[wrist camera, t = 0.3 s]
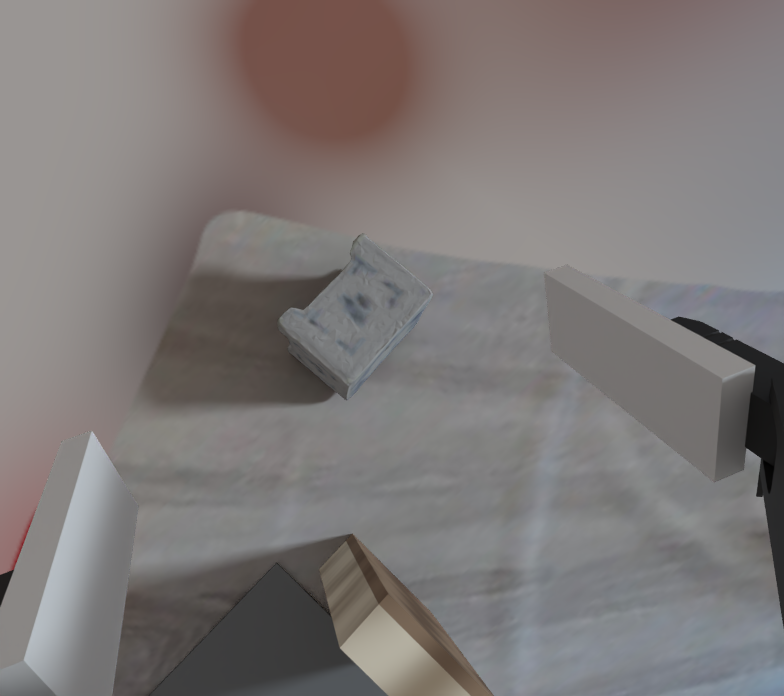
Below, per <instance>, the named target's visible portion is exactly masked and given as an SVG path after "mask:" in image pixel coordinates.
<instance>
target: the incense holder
mask: <svg viewBox="0 0 784 696" xmlns="http://www.w3.org/2000/svg"><path fill="white" fill-rule="evenodd" d="M350 255H351V261H350V262H349V263H348V264H347V265H346V267H345V268H344V269H343V270H342V272H341V273H340V274H339V275H338V276H337V277H336V278H335V279H334V280H333V281H331V282H330V283H329V285H328V286H327V287H326V288H324V289H323V290H322V291H321V292H320V293H319V294H318V296H317V297H315V299H314V300H313V301H312V302H311V303H310V305H308V306H307V307H306V308H305V309H304V310H301V309H297V308H289V309H288V310H287V311H286V312H285V313H283V315H282V316H281V317H280V318H279V319H278V330H279V331H280V332H281V333H282V334H284V335H285V336H286V337H287V338H288V339H289V343H290V345H289V346H288V351H289V353H291V354H292V355H293V356H294V357H296V358H297V359H298V360H299V361H300V362H301V363H303V364H304V365H305V366H306V367H307V368H309V369H310V370H311V371H312V372H313V373H314V374H315V375H317V376H318V377H319V378H320V379H321V380H322V381H324V382H325V383H326V384H327V385H328V386H330V387H331V388H332V389H333V390H334V391H335V392H336V393H338V394H339V395H340V396H342V397H343V398H344V399H345V400H348V399H349V398H351V397H352V396H353V394H354V393H355V392H356V391H357V390H358V389H359V388H360V386H361V385H362V384H363V383H364V382H365V381H366V379H367V378H368V377H369V376H370V375H371V374H372V372H373V371H374V370H375V369H376V368H377V367H378V366H379V364H380V363H381V362H382V361H383V360H384V359H385V358H386V357H387V356H388V355H389V354H390V352H391V351H392V350H393V349H394V348H395V347H396V346H397V345H398V344H399V343H400V341H401V340H402V339H403V338H404V337H405V336H406V335H407V334H408V333H409V332H410V331H411V330H412V329H413V328H414V326H415V325H416V324H417V322H418V320H419V319H420V317H421V315H422V312H423V311H424V309H425V308H426V306H427V305H428V303H429V301H430V299H431V298H432V296H433V293H432V292H431V290H430V289H429V288H428V287H427V286H426V285H424V284H423V283H422V282H421V281H420V280H419V279H418V278H416V277H415V276H414V275H413V274H412V273H410V272H409V271H408V270H407V269H406V268H405V267H403V266H402V265H401V264H400V263H399V262H397V261H396V260H395V259H393V258H392V257H391V256H390V255H389V254H387V253H386V252H385V251H384V250H382V249H381V248H380V247H378V246H377V245H376V244H375V243H374V242H373V241H371V240H370V239H369V238H368V237H367V236H366V235H365V234H361V235H359V236H358V237H357V238H356V239H355V240H354V241H353V245H352V248H351V251H350Z"/></svg>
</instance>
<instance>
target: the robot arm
mask: <svg viewBox="0 0 784 696" xmlns="http://www.w3.org/2000/svg"><path fill="white" fill-rule="evenodd" d="M544 278H545V288H546V299H547V309H548V319H549V329H550V339H551V350H552V352H553V353H554V354H555V355H557V356H558V357H559V358H560V359H562V360H563V361H564V362H565V363H567V364H568V365H569V366H570V367H571V368H573V369H574V370H575V371H576V372H578V373H579V374H580V375H581V376H583V377H584V378H585V379H586V380H588V381H589V382H590V383H591V384H593V385H594V386H595V387H596V388H598V389H599V390H600V391H601V392H603V393H604V394H605V395H606V396H607V397H609V398H610V399H611V400H612V401H614V402H615V403H616V404H617V405H619V406H620V407H621V408H622V409H624V410H625V411H626V412H627V413H629V414H630V415H631V416H632V417H634V418H635V419H636V420H637V421H639V422H640V423H641V424H642V425H644V426H645V427H646V428H647V429H648V430H650V431H651V432H652V433H653V434H655V435H656V436H657V437H658V438H660V439H661V440H662V441H663V442H665V443H666V444H667V445H668V446H670V447H671V448H672V449H673V450H675V451H676V452H677V453H678V454H680V455H681V456H682V457H683V458H684V459H686V460H687V461H688V462H689V463H691V464H692V465H693V466H694V467H696V468H697V469H698V470H699V471H701V472H702V473H703V474H704V475H706V476H707V477H708V478H709V479H711V480H712V481H713V482H716V481H719V480H721V479H723V478H726V477H728V476H730V475H733V474H735V473H737V472H739V471H742V470H744V463H745V454H746V448H747V449H749V450H750V451H752V452H753V453H755V454H756V455H757V456H759V457H760V458H761V464H760V472H759V479H758V487H757V494H756V496H757V497H762V496H764V503H765V509H766V516H767V522H768V529H769V535H770V542H771V548H772V555H773V561H774V568H775V574H776V581H777V587H778V594H779V601H780V607H781V614H782V620H783V627H784V363H782V362H780V361H778V360H776V359H774V358H772V357H770V356H768V355H766V354H764V353H762V352H760V351H758V350H756V349H754V348H752V347H750V346H748V345H746V344H744V343H742V342H740V341H738V340H733V338H732V337H730V336H728V335H726V334H725V333H723V332H722V333H719V330H717V329H715V328H713V327H711V326H709V325H707V324H705V323H703V322H700V321H696V320H692V319H687V318H683V317H677V318H674V319H671V320H670V319H668V318H666V317H664V316H662V315H660V314H658V313H657V312H655V311H653V310H651V309H649V308H647V307H645V306H643V305H642V304H640V303H638V302H636V301H634V300H632V299H630V298H629V297H627V296H625V295H623V294H621V293H619V292H617V291H615V290H614V289H612V288H610V287H608V286H606V285H604V284H602V283H600V282H599V281H597V280H595V279H593V278H591V277H589V276H587V275H586V274H584V273H582V272H580V271H578V270H576V269H574V268H572V267H570V266H569V265H564V266H562V267H559V268H556V269H553V270H550V271H547V272H544ZM138 508H139V506H138V504H137V503H136V501H135V499H134V498H133V496H132V494H131V493H130V491H129V490H128V488H127V486H126V485H125V483H124V482H123V480H122V478H121V477H120V475H119V474H118V472H117V470H116V469H115V467H114V465H113V464H112V462H111V461H110V459H109V457H108V456H107V454H106V453H105V451H104V449H103V448H102V446H101V445H100V443H99V441H98V440H97V438H96V436H95V435H94V433H93V432H92V431H90V432H87V433H84V434H81V435H78V436H75V437H72V438H70V439H67V440H64V441H62V442H61V445H60V447H59V450H58V453H57V455H56V458H55V461H54V463H53V466H52V469H51V472H50V474H49V477H48V480H47V482H46V485H45V488H44V490H43V493H42V496H41V499H40V501H39V504H38V507H37V509H36V512H35V515H34V518H33V520H32V523H31V526H30V528H29V531H28V534H27V536H26V539H25V542H24V545H23V547H22V550H21V553H20V555H19V558H18V561H17V563H16V566H15V569H14V570H12V571H9V572H7V573H4V574H2V575H0V696H112V694H113V687H114V680H115V672H116V665H117V658H118V651H119V644H120V637H121V629H122V622H123V615H124V608H125V601H126V594H127V586H128V579H129V572H130V565H131V558H132V551H133V543H134V536H135V529H136V522H137V515H138Z"/></svg>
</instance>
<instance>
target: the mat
mask: <svg viewBox="0 0 784 696" xmlns="http://www.w3.org/2000/svg"><path fill="white" fill-rule="evenodd" d="M149 696H388V695H387V694H386V693H385V692H384V691H383V690H382V689H381V688H380V687H379V686H378V685H377V684H376V683H375V682H374V681H373V680H372V679H371V678H370V677H369V676H368V675H367V674H366V673H365V672H364V671H363V670H362V669H361V668H360V667H359V666H358V665H357V664H356V663H355V662H354V661H353V660H351V659H350V658H349V657H348V656H347V655H346V654H345V653H344V652H343V651H342V650H341V649H340V647H339V643H338V640H337V636H336V632H335V628H334V624H333V621H332V617H331V616H330V615H329V614H328V613H327V612H326V611H325V610H324V609H323V608H322V607H321V606H320V605H319V604H318V603H317V602H316V601H315V600H314V599H313V598H312V597H311V596H310V595H309V594H308V593H307V592H306V591H305V590H304V589H303V588H302V587H301V586H300V585H299V584H298V583H297V582H296V581H295V580H293V579H292V578H291V577H290V576H289V575H288V574H287V573H286V572H285V571H284V570H283V569H282V568H281V567H280V566H279V565H278V564H277V563H276V564H275V565H274V566H273V567H272V568H271V569H270V570H269V571H268V572H267V573H266V575H265V576H264V577H263V578H262V579H261V580H260V581H259V582H258V583H257V584H256V585H255V586H254V587H253V588H252V589H251V590H250V591H249V592H248V593H247V594H246V595H245V596H244V597H243V598H242V599H241V601H240V602H239V603H238V604H237V605H236V606H235V607H234V608H233V609H232V610H231V611H230V612H229V613H228V614H227V615H226V616H225V617H224V618H223V619H222V620H221V621H220V622H219V623H218V624H217V625H216V627H215V628H214V629H213V630H212V631H211V632H210V633H209V634H208V635H207V636H206V637H205V638H204V639H203V640H202V641H201V642H200V643H199V644H198V645H197V646H196V647H195V648H194V649H193V650H192V651H191V653H190V654H189V655H188V656H187V657H186V658H185V659H184V660H183V661H182V662H181V663H180V664H179V665H178V666H177V667H176V668H175V669H174V670H173V671H172V672H171V673H170V674H169V675H168V676H167V677H166V679H165V680H164V681H163V682H162V683H161V684H160V685H159V686H158V687H157V688H156V689H155V690H154V691H153V692H152V693H151V694H150V695H149Z"/></svg>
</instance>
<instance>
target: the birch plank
mask: <svg viewBox="0 0 784 696" xmlns="http://www.w3.org/2000/svg"><path fill="white" fill-rule="evenodd" d="M319 571H320V575H321V579H322V583H323V586H324V590H325V594H326V598H327V602H328V605H329V609H330V613H331V617H332V621H333V624H334V628H335V632H336V636H337V640H338V643H339V647H340V649H341V650H342V651H343V652H344V653H345V654H346V655H347V656H348V657H349V658H350V659H351V660H353V661H354V662H355V663H356V664H357V665H358V666H359V667H360V668H361V669H362V670H363V671H364V672H365V673H366V674H367V675H368V676H369V677H370V678H371V679H372V680H373V681H374V682H375V683H376V684H377V685H378V686H379V687H380V688H381V689H382V690H383V691H384V692H385V693H386V694H387V695H388V696H494V695H493V694H492V693H491V691H490V690H489V689H488V687H487V686H486V685H485V683H484V682H483V681H482V679H481V678H480V677H479V675H478V674H477V673H476V671H475V670H474V669H473V667H472V666H471V665H470V663H469V662H468V661H467V659H466V658H465V657H464V655H463V654H462V653H461V651H460V650H459V649H458V647H457V646H456V645H455V643H454V642H453V641H452V639H451V638H450V637H449V635H448V634H447V633H446V631H445V630H444V629H443V627H442V626H441V625H440V623H439V622H438V621H437V619H436V618H435V617H434V615H433V614H432V613H431V612H430V611H429V610H428V609H427V608H426V607H425V606H424V605H423V604H422V603H421V602H420V601H419V600H418V599H417V598H416V597H415V596H414V595H413V594H412V593H411V592H410V591H409V590H408V589H407V588H406V587H405V586H404V585H403V584H402V583H401V582H400V581H399V580H398V579H397V578H396V577H395V576H394V575H393V574H392V573H391V572H390V571H389V570H388V569H387V568H386V567H385V566H384V565H383V564H382V563H381V562H380V561H379V560H378V559H377V558H376V557H375V556H374V555H373V554H372V553H371V552H370V551H369V550H368V549H367V548H366V547H365V546H364V545H363V544H362V543H361V542H360V541H359V540H358V539H357V538H356V537H355V536H354V535H353V534H352V535H351V536H350V537H349V538H348V539H347V540H346V541H345V542H344V543H343V544H342V545H341V546H340V547H339V548H338V549H337V551H336V552H335V553H334V554H333V555H332V556H331V557H330V558H329V559H328V560H327V561H326V562H325V563H324V564H323V565H322V567H321V568H320V569H319Z"/></svg>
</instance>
